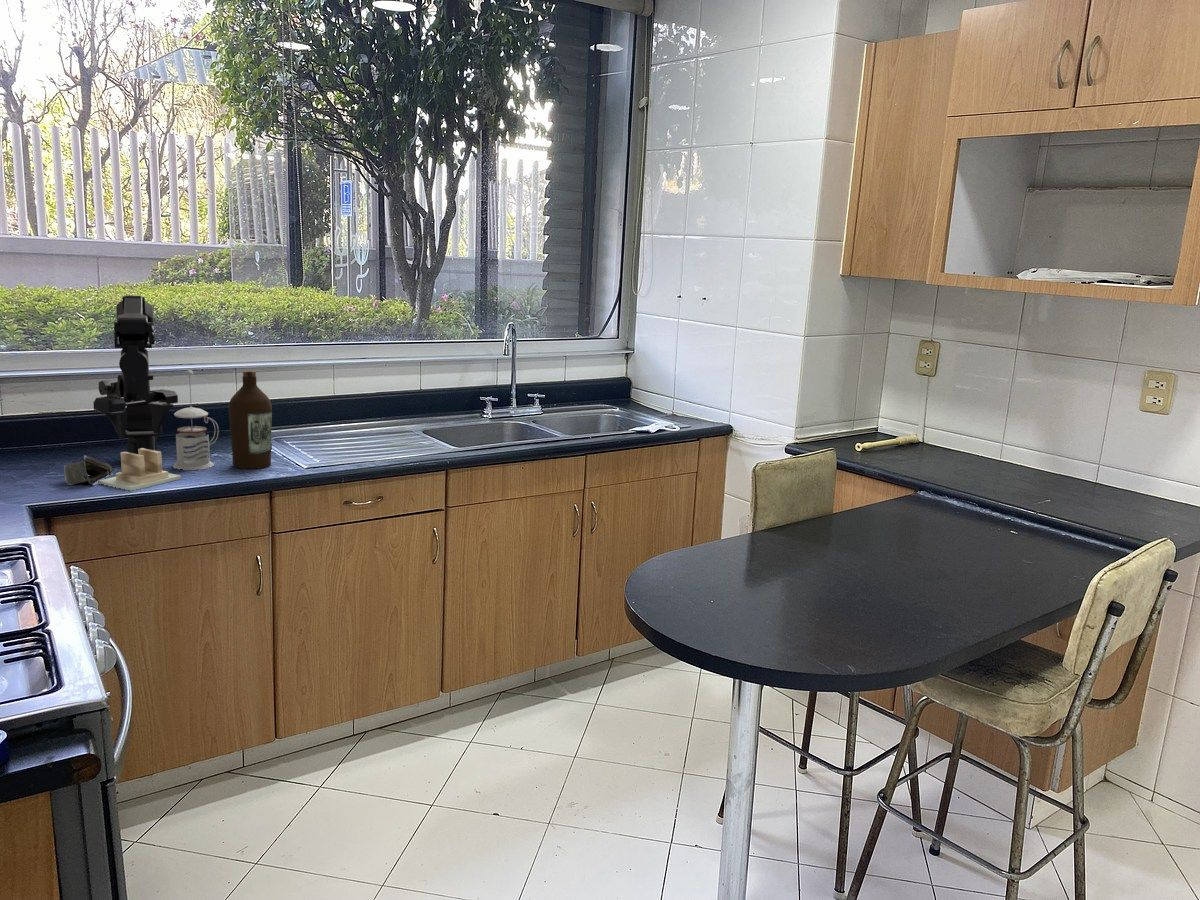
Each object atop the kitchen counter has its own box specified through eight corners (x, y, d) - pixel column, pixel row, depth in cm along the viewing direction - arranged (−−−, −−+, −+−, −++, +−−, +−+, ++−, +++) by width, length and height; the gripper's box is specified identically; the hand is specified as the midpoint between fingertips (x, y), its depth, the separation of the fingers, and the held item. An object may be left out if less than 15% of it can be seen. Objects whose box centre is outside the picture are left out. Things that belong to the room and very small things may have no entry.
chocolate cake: (85, 475, 220) (55, 449, 210) (114, 468, 221) (85, 442, 210) (82, 508, 215) (51, 483, 205) (111, 500, 215) (82, 475, 205)
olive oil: (221, 464, 235) (218, 370, 230) (256, 458, 244) (254, 367, 238) (247, 472, 229) (244, 375, 224) (281, 465, 238) (279, 371, 233)
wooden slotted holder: (168, 477, 217) (167, 451, 216) (139, 484, 210) (138, 457, 208) (145, 472, 220) (143, 447, 219) (116, 479, 213) (114, 452, 212)
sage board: (149, 472, 224) (148, 469, 224) (181, 478, 220) (180, 475, 219) (98, 483, 211) (97, 480, 211) (130, 491, 207) (130, 487, 207)
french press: (165, 464, 232) (160, 368, 227) (209, 458, 241) (205, 366, 236) (183, 471, 226) (179, 373, 221) (227, 465, 235) (224, 370, 229)
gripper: (145, 364, 221) (148, 426, 224) (74, 371, 204) (79, 438, 208) (178, 368, 217) (181, 431, 220) (108, 376, 200) (113, 444, 203)
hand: (139, 436), depth 213 cm, fingers open, 9 cm apart
